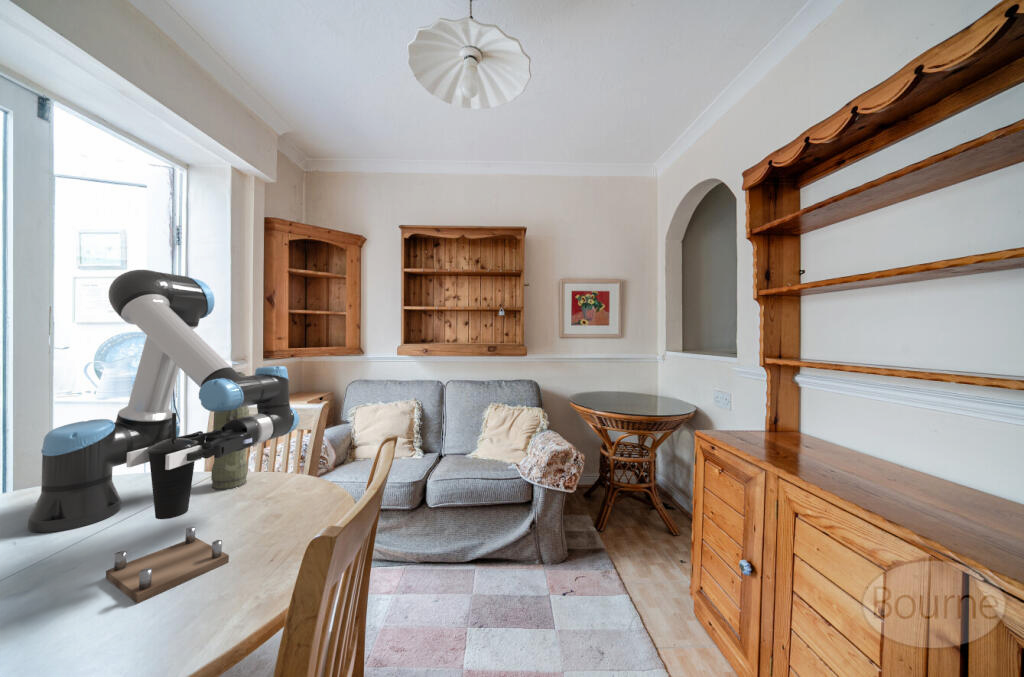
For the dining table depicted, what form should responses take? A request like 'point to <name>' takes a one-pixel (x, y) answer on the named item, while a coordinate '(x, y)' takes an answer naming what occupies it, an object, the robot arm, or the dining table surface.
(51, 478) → the robot arm
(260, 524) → the dining table surface
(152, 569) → the peg board
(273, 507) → the dining table surface
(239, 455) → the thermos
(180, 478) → the drinking cup
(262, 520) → the dining table surface
